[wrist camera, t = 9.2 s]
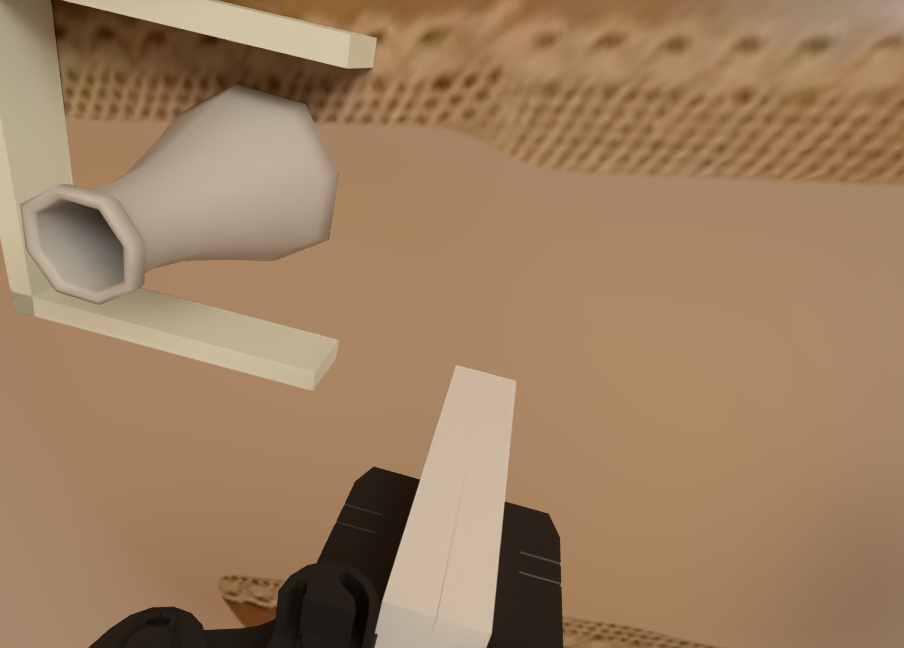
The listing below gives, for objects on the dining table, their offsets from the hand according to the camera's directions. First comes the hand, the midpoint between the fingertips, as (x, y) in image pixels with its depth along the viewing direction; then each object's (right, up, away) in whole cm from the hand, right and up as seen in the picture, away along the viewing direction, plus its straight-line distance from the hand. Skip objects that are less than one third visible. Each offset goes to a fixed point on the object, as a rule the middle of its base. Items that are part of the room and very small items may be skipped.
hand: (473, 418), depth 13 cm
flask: (-9, +9, +10) cm, 16 cm away
